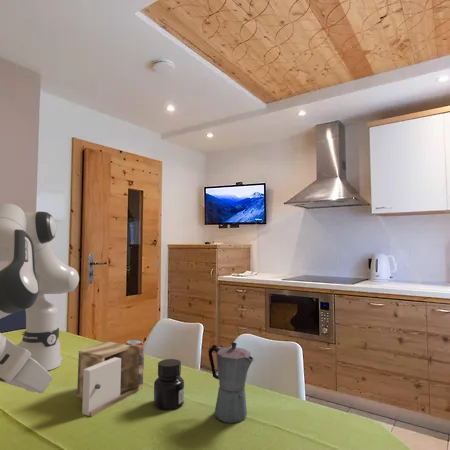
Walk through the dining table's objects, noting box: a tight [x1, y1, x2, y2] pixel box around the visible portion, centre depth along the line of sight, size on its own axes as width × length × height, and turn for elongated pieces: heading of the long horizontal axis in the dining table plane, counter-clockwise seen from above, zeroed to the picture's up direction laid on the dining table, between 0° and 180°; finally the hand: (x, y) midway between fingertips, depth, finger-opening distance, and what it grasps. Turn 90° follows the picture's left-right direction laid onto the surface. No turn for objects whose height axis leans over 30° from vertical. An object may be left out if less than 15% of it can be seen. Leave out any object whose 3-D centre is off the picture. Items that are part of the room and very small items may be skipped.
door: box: [81, 357, 121, 417], centre depth 98 cm, size 3×12×12 cm, turn 154°
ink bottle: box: [153, 358, 185, 411], centre depth 100 cm, size 10×9×12 cm
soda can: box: [125, 339, 145, 371], centre depth 123 cm, size 7×7×12 cm
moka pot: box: [208, 342, 255, 424], centre depth 94 cm, size 10×15×20 cm, turn 58°
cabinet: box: [76, 341, 145, 418], centre depth 104 cm, size 15×21×14 cm
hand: (33, 388), depth 79 cm, fingers closed
